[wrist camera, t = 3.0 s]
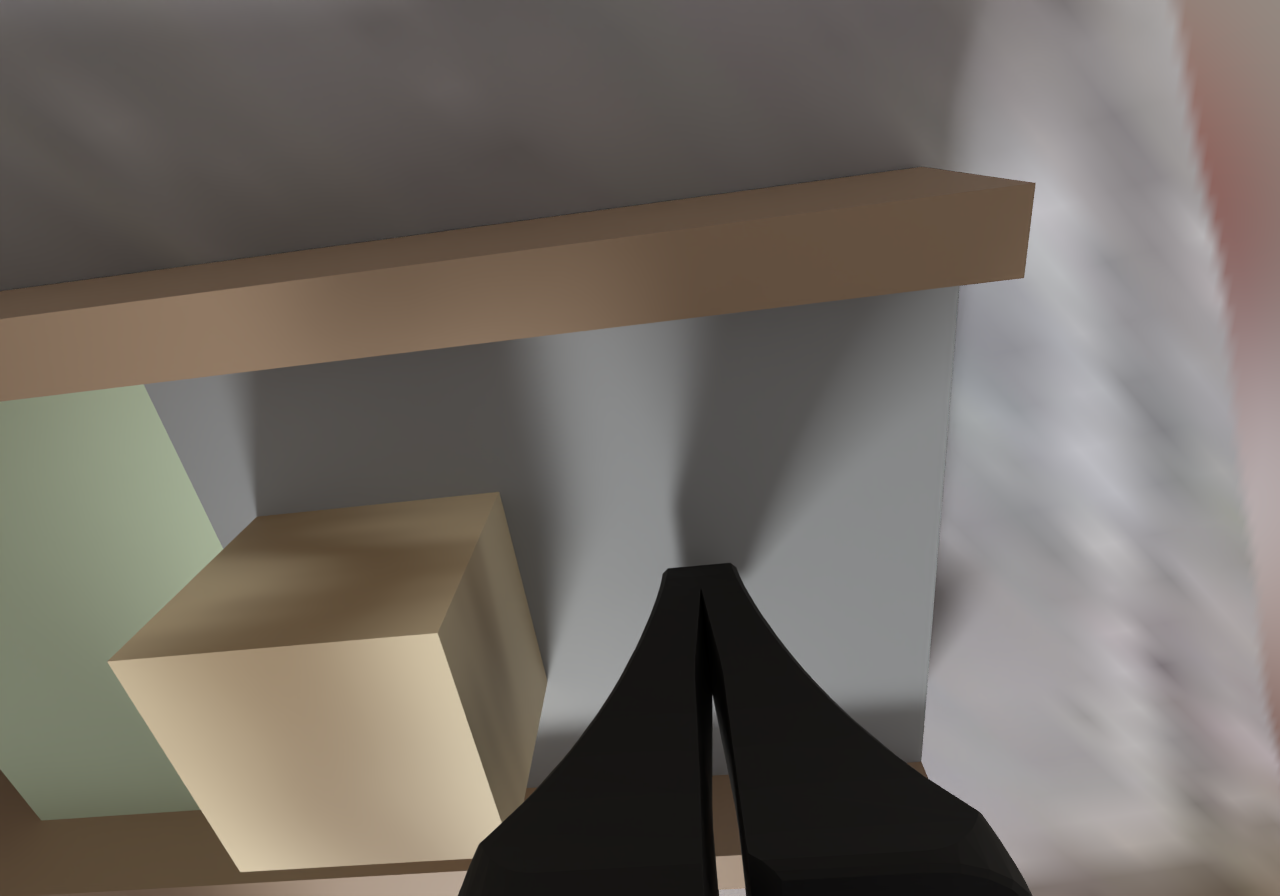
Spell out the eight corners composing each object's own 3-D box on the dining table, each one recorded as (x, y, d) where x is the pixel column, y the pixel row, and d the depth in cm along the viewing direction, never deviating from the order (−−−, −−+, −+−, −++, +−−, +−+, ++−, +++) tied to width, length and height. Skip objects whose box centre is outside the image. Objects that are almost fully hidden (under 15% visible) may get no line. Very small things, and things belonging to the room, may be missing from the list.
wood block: (337, 698, 15) (240, 871, 12) (257, 516, 13) (106, 661, 10) (547, 681, 15) (512, 855, 11) (499, 492, 13) (437, 633, 9)
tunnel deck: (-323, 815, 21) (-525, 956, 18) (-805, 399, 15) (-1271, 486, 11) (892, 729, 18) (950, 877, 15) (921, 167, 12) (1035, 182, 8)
